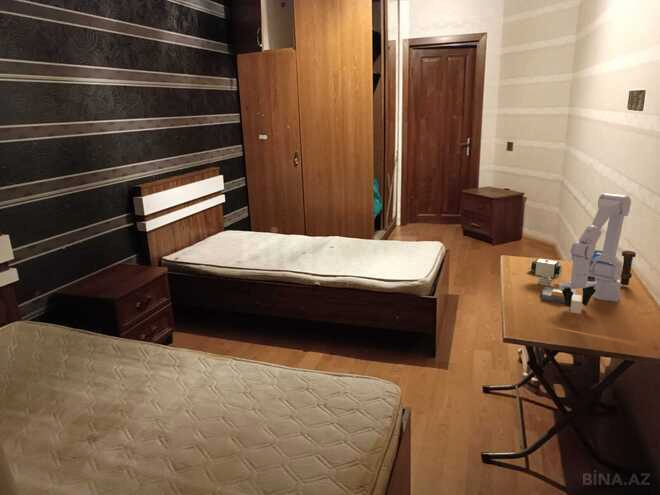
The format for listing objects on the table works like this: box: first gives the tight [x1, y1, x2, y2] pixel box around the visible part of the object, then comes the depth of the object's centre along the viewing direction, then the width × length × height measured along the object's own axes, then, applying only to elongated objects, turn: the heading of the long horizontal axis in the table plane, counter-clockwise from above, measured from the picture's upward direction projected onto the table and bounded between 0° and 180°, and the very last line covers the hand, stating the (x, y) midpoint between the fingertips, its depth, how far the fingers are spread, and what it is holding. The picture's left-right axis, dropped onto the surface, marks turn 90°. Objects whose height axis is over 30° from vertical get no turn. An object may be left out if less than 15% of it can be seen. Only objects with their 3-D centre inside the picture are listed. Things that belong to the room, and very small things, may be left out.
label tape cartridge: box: [588, 249, 607, 279], centre depth 221 cm, size 9×4×12 cm, turn 61°
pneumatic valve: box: [530, 258, 563, 286], centre depth 214 cm, size 6×12×12 cm, turn 53°
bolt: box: [620, 250, 637, 286], centre depth 210 cm, size 6×5×15 cm
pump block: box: [570, 294, 583, 315], centre depth 188 cm, size 4×7×5 cm, turn 154°
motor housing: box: [540, 282, 577, 304], centre depth 200 cm, size 15×12×4 cm
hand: (576, 305), depth 188 cm, fingers open, 6 cm apart
